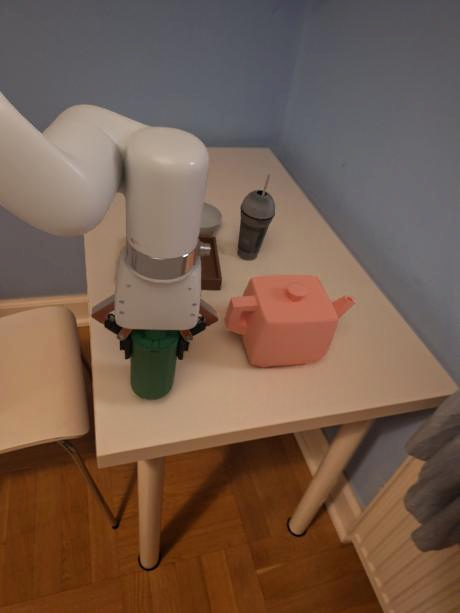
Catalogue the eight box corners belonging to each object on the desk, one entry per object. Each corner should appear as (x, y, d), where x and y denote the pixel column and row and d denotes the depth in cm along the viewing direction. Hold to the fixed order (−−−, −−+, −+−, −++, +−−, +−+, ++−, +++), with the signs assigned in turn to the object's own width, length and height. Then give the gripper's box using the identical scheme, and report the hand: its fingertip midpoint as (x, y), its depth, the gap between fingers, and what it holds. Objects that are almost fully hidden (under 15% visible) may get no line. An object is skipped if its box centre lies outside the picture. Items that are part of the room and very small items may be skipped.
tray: (132, 287, 78) (132, 276, 76) (135, 242, 88) (135, 231, 86) (220, 290, 81) (222, 280, 79) (213, 246, 91) (215, 236, 89)
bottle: (129, 400, 59) (129, 328, 48) (131, 364, 63) (132, 290, 52) (173, 399, 60) (184, 330, 49) (172, 364, 64) (182, 293, 53)
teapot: (321, 316, 81) (347, 261, 71) (346, 368, 72) (379, 314, 62) (213, 320, 75) (225, 262, 65) (226, 377, 67) (242, 320, 57)
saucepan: (177, 240, 90) (178, 226, 88) (168, 197, 102) (169, 183, 100) (224, 240, 93) (226, 226, 90) (209, 198, 105) (211, 184, 102)
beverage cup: (256, 243, 94) (276, 162, 80) (267, 263, 90) (291, 181, 76) (227, 245, 92) (242, 162, 78) (237, 266, 87) (256, 182, 73)
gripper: (235, 235, 48) (213, 332, 61) (81, 223, 45) (92, 329, 57) (244, 277, 43) (217, 374, 56) (71, 268, 39) (85, 373, 52)
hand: (154, 350), depth 56 cm, fingers closed on bottle, 6 cm apart
